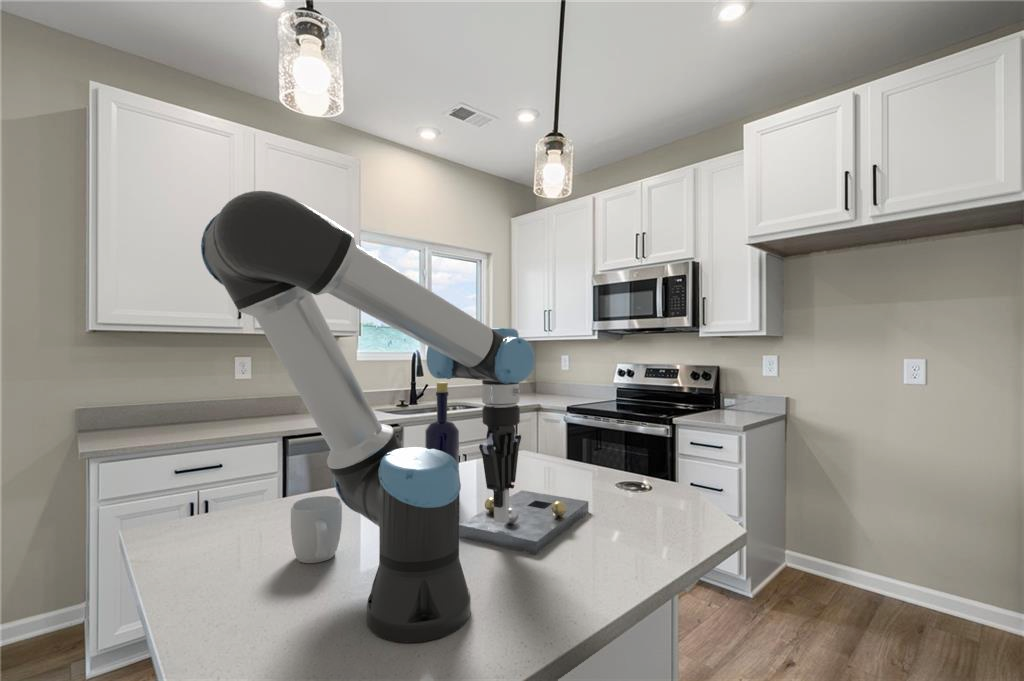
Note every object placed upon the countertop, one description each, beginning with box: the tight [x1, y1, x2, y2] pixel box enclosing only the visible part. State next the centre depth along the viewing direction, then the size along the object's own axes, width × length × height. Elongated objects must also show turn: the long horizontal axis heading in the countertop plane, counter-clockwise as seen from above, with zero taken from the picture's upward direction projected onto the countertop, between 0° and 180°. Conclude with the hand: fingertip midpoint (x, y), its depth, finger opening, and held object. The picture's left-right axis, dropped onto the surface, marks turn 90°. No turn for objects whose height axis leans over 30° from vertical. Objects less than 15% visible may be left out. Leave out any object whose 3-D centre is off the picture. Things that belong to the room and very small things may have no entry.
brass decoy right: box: [551, 501, 566, 517], centre depth 109 cm, size 3×3×3 cm
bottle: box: [424, 381, 460, 468], centre depth 128 cm, size 9×9×30 cm
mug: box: [290, 495, 343, 564], centre depth 92 cm, size 13×9×10 cm
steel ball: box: [508, 508, 518, 524], centre depth 104 cm, size 3×3×3 cm
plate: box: [459, 490, 589, 556], centre depth 111 cm, size 28×18×2 cm, turn 151°
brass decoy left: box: [484, 496, 494, 512], centre depth 111 cm, size 3×3×3 cm
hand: (501, 521), depth 100 cm, fingers closed
